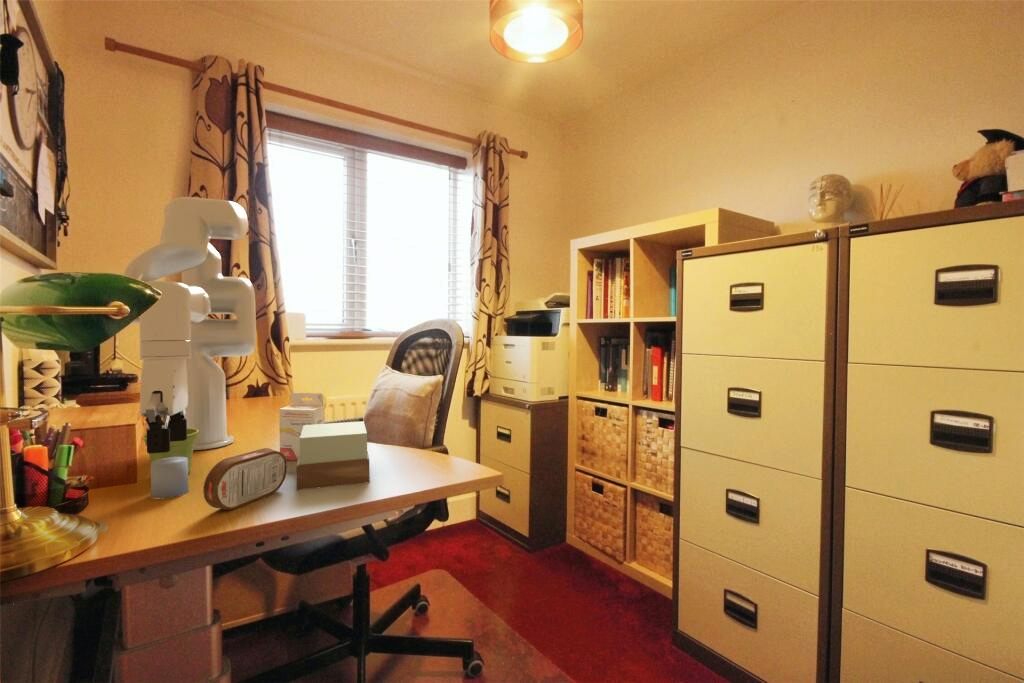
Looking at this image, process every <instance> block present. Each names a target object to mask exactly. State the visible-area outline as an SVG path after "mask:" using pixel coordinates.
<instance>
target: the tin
mask: <svg viewBox="0 0 1024 683" xmlns="http://www.w3.org/2000/svg"><path fill="white" fill-rule="evenodd" d="M287 461H288V460H286V458H285V456H284V455H283V454H282V453H281V452H280V451H278V450H275V449H271V448H268V447H267V448H266V447H265V448H260V449H256V450H253V451H248V452H245V453H241V454H238V455H234V456H233V455H232V456H229V457H226V458H224V459H222V460H220V461H218V462H217V463H216V464H215V465H214V466H212V468H211V469H210V471H209V472H208V474H207V475H206V476H205V480H204V484H203V490H202V491H203V492H202V493H203V498H204V500H205V502H206V504H207V505H209V506H210V507H212V508H214V509H220V510H224V511H231V510H235V509H237V508H241V507H243V506H246V505H248V504H251V503H253V502H255V501H258V499H259V500H261V499H263V498H266V497H268V496H271V495H273V494H274V493H276V492H277V491H278V490H279V489H281V487H282V485H283V483H284V482H285V479H286V477H287V469H288V463H287ZM240 506H241V507H240Z"/></svg>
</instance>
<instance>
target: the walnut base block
mask: <svg viewBox="0 0 1024 683" xmlns="http://www.w3.org/2000/svg"><path fill="white" fill-rule="evenodd" d="M295 469H296V471H295V472H296V473H295V474H296V475H295V476H296V490H297V491H299V490H310V489H319V488H318V487H320V488H327V486H330V487H338V486H337V485H339V486H347V485H355V484H356V485H357V484H366V483H365V482H368V483H370V482H371V481H370V456H369V452H368V450H367V459H358V460H347V461H336V462H325V463H313V464H302V465H300V454H299V458H298V461H297V462H296V467H295Z"/></svg>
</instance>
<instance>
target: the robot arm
mask: <svg viewBox="0 0 1024 683" xmlns="http://www.w3.org/2000/svg"><path fill="white" fill-rule="evenodd" d="M163 210H164V211H163V215H164V219H163V224H162V229H161V234H160V238H159V239H160V240H159V243H158V244H156V245H153V246H151V247H150V248H148V249H147V250H145V251H144V252H142V253H140V254H139V255H138V256H136V257H135V258H134V259H132V260H131V261H130V262H129V263H128V265H127V266H126V267H125V270H124V271H123V274H122V276H123V275H124V276H128V277H132V278H135V279H138V280H141V281H144V282H146V283H148V284H150V285H151V286H153V287H155V288H156V289H158V290H160V291H161V292H162V295H161V298H160V299H159V301H158V302H157V303H156V304H155V305H154V306H152V307H151V308H150V309H148V310H147V311H146V312H145V313H143V314H142V315H141V316H140V317H139V318H137V319H136V320H134V321H133V322H131V323H133V324H139V359H140V360H141V361H142V367H141V374H140V392H139V395H140V396H139V415H140V416H141V417H143V418H145V421H146V426H145V429H146V434H147V446H146V452H147V454H148V455H149V454H151V453H164V452H169V451H170V442H171V441H184V440H186V439H187V428H194V429H198V430H199V432H198V433H197V435H196V439H195V441H194V447H193V451H200V450H203V451H204V450H210V449H217V448H221V447H224V446H228V445H230V444H232V443H233V442H234V441H235V439H234V438H235V437H234V436H233V435H231V434H227V431H228V430H227V429H228V428H227V393H226V392H227V390H226V389H227V388H226V386H227V385H226V384H227V383H226V382H227V381H226V374H225V370H223V368H222V367H221V366H220V364H218V362H216V361H215V360H214V358H220V357H221V358H222V357H223V358H225V357H228V358H229V357H246V356H249V355H252V354H253V353H254V352H255V350H256V346H257V320H256V319H257V317H256V316H257V315H256V314H257V313H256V309H257V308H256V307H257V306H256V293H255V289H254V285H253V283H252V282H251V281H250V280H249V279H248V278H245V277H240V276H224V275H223V274H222V272H223V271H222V263H223V262H222V257H221V254H220V253H219V252H218V251H217V250H216V248H215V247H214V246H213V245H212V244H211V243H210V239H214V240H216V239H217V240H229V241H232V240H233V241H234V240H235V241H241V240H243V239H244V238H245V237H246V235H247V234H248V228H249V222H248V221H249V219H248V216H247V212H246V211H245V209H244V208H243V207H242V206H241V205H240V204H238V203H237V202H234V201H231V200H226V199H218V198H217V199H216V198H206V197H205V198H204V197H193V196H180V197H177V198H174V199H172V200H171V201H170V202H169V203H168V204H166V205H165V207H164V209H163ZM176 274H181V282H180V281H179V282H178V281H169V280H159V279H161V278H164V277H168V276H173V275H176ZM212 314H213V315H233V316H235V317H236V318H235V319H234V318H233V319H231V318H230V319H228V318H225V319H224V318H223V319H222V318H220V319H219V318H207V317H208V316H209V315H212Z"/></svg>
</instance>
